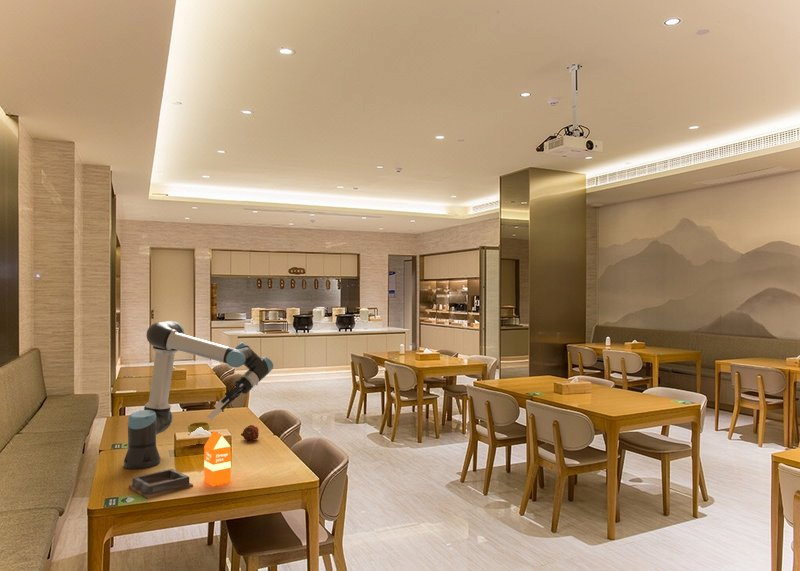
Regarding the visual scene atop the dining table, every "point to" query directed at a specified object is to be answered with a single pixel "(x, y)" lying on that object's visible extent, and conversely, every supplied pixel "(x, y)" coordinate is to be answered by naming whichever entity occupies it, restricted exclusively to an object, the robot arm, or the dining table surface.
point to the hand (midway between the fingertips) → (212, 413)
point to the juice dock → (160, 483)
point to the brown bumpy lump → (250, 433)
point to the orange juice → (217, 460)
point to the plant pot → (196, 425)
